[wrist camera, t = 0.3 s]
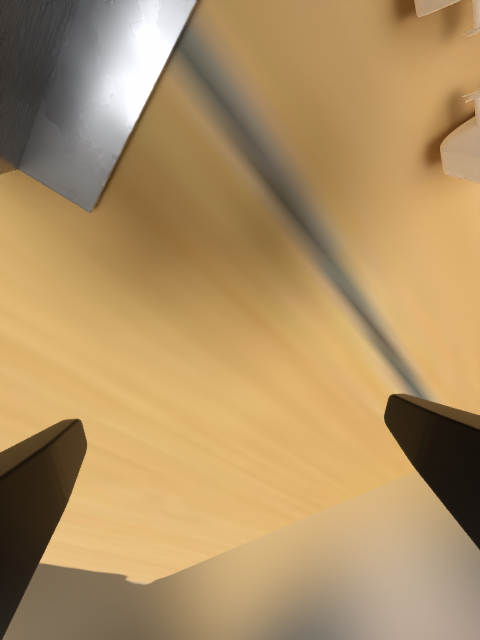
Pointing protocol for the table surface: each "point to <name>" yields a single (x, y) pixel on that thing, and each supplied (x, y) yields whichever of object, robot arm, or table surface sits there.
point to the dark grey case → (79, 85)
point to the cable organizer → (475, 134)
